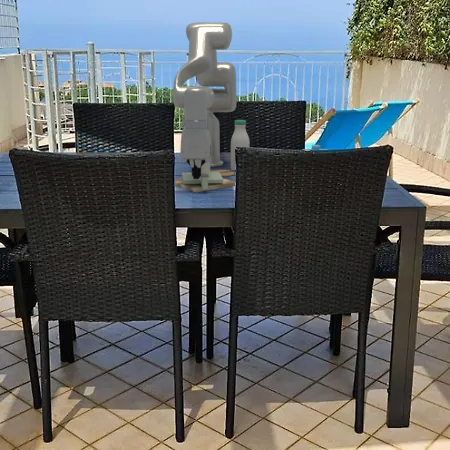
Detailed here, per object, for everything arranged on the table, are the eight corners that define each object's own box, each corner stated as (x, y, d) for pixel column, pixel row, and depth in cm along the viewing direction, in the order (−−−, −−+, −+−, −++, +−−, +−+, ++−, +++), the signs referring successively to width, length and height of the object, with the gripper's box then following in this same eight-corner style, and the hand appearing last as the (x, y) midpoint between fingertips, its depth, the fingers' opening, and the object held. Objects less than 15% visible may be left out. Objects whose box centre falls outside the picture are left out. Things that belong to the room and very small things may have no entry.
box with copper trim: (194, 177, 219) (194, 152, 217) (193, 173, 227) (192, 149, 225) (210, 177, 220) (210, 152, 218) (208, 172, 228) (208, 148, 225)
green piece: (184, 189, 208) (184, 176, 207) (181, 176, 229) (181, 164, 228) (225, 188, 209) (225, 175, 208) (219, 175, 230) (219, 163, 229)
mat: (197, 173, 243) (197, 171, 243) (222, 169, 250) (222, 168, 250) (215, 178, 234) (215, 176, 233) (240, 174, 240) (240, 173, 240)
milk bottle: (247, 171, 246) (248, 121, 240) (229, 171, 247) (228, 121, 242) (251, 168, 253) (251, 119, 247) (232, 167, 254) (232, 118, 249)
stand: (168, 183, 225) (167, 179, 225) (208, 177, 235) (208, 173, 235) (194, 192, 211) (194, 187, 211) (236, 185, 221) (236, 181, 221)
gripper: (171, 125, 206) (172, 179, 210) (215, 126, 203) (215, 181, 208) (177, 123, 213) (178, 176, 217) (219, 124, 210) (219, 177, 215)
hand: (196, 178), depth 212 cm, fingers closed
